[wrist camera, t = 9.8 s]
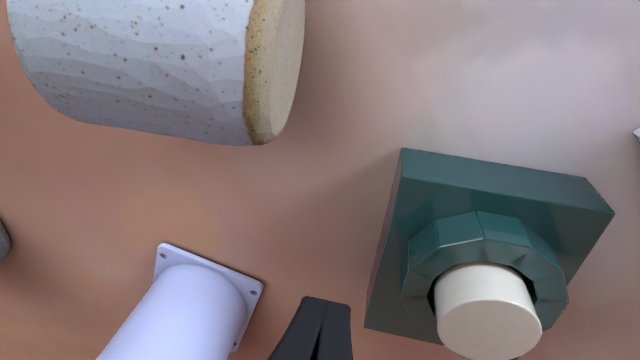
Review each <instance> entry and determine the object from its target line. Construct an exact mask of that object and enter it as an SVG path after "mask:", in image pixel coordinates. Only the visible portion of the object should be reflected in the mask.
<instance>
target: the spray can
mask: <svg viewBox="0 0 640 360" xmlns="http://www.w3.org/2000/svg"><path fill="white" fill-rule="evenodd" d="M10 245H11V241H10V239H9V236H8V235H7V233H6V231H5V229H4V227H3V225H2V223H1V222H0V261H2V260H3V259H4V258H5V257H6V255H7V254H8V251H9V249H10Z"/></svg>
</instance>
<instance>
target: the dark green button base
mask: <svg viewBox="0 0 640 360" xmlns="http://www.w3.org/2000/svg"><path fill="white" fill-rule="evenodd" d="M614 215H615V212H614V211H613V210H612V209H611V207H610V206H609V205H608V204H607V203H606V201H605V200H604V199H603V198H602V197H601V196H600V194H599V193H598V192H597V191H596V190H595V188H594V187H593V186H592V185H591V184H590V183H589V181H588V180H587V179H586V178H584V177H578V176H572V175H566V174H560V173H554V172H548V171H541V170H535V169H529V168H523V167H517V166H511V165H505V164H499V163H493V162H487V161H481V160H475V159H469V158H463V157H457V156H451V155H445V154H438V153H432V152H426V151H420V150H414V149H408V148H401V151H400V155H399V159H398V164H397V168H396V172H395V176H394V180H393V185H392V189H391V193H390V197H389V201H388V206H387V210H386V214H385V218H384V222H383V227H382V231H381V235H380V239H379V243H378V247H377V252H376V256H375V260H374V264H373V268H372V273H371V277H370V281H369V285H368V289H367V298H366V308H365V318H364V328H367V329H372V330H376V331H381V332H385V333H390V334H394V335H399V336H403V337H408V338H412V339H417V340H421V341H426V342H430V343H435V344H439V345H444V344H443V343H442V341H441V340H440V338H439V335H438V332H437V323H436V313H435V303H434V286H435V284H436V282H437V280H438V278H439V277H440V276H441V275H442V274H443V273H444V272H445V271H447V270H448V269H450V268H452V267H454V266H456V265H459V264H465V263H470V262H476V261H488V262H493V263H498V264H502V265H504V266H507V267H509V268H511V269H512V270H514V271H515V272H516V273H518V274H519V275H520V276H521V277H522V279H523V280H524V282H525V284H526V286H527V289H528V292H529V294H530V297H531V299H532V302H533V305H534V307H535V310H536V312H537V315H538V318H539V320H540V323H541V326H542V332H543V331H545V330H547V329H549V328H551V327H552V326H553V324H554V323H555V321H556V320H557V319H558V317H559V316H560V314H561V313H562V311H563V310H564V309H565V307H566V306H567V304H568V303H569V301H568V300H569V298H568V293H567V285H568V284H569V282H570V281H571V279H572V278H573V276H574V275H575V273H576V272H577V270H578V269H579V267H580V266H581V264H582V263H583V261H584V260H585V258H586V257H587V255H588V254H589V253H590V251H591V250H592V248H593V247H594V245H595V244H596V242H597V241H598V239H599V238H600V236H601V235H602V233H603V232H604V230H605V229H606V227H607V226H608V224H609V223H610V221H611V220H612V218H613V217H614ZM444 346H445V345H444ZM518 358H519V357H517V358H514V359H510V360H517V359H518Z"/></svg>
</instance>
